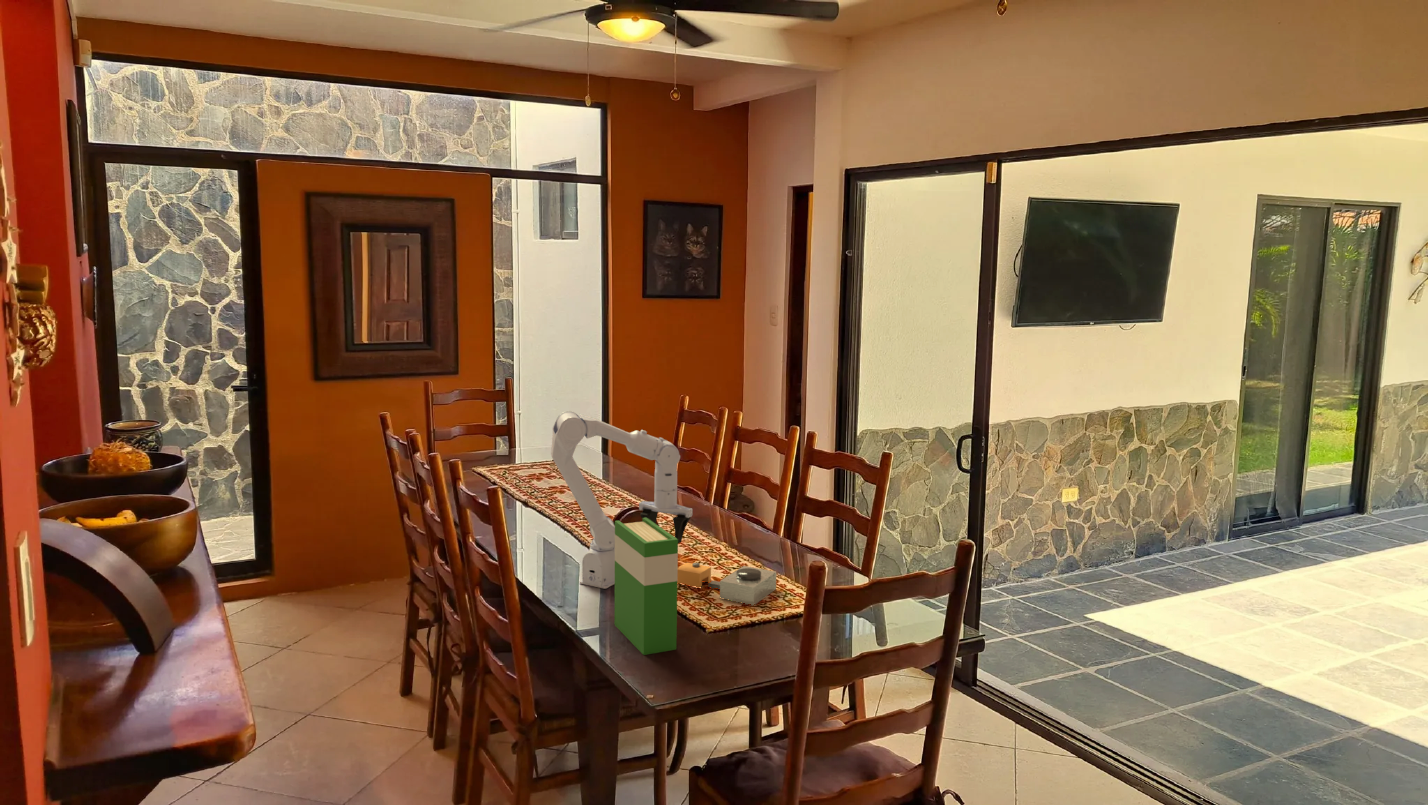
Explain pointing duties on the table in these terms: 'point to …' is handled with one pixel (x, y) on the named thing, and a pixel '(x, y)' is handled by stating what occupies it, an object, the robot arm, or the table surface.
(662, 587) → the hardback book
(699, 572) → the lock block
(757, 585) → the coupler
